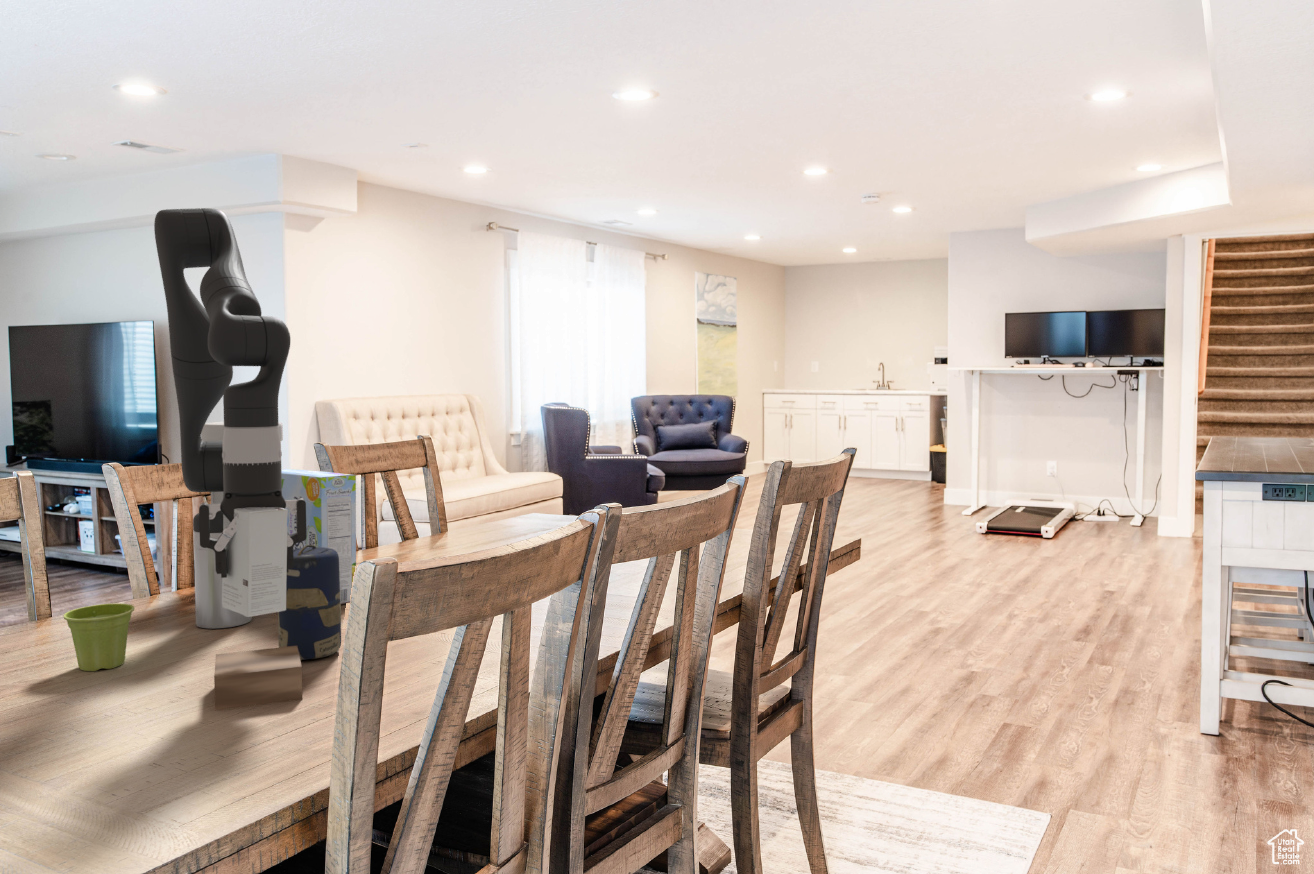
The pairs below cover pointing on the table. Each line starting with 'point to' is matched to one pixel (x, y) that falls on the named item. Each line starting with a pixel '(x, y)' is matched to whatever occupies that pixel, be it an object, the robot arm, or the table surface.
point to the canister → (312, 603)
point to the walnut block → (257, 677)
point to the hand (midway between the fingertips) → (255, 574)
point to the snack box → (326, 516)
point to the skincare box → (256, 562)
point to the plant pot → (100, 634)
